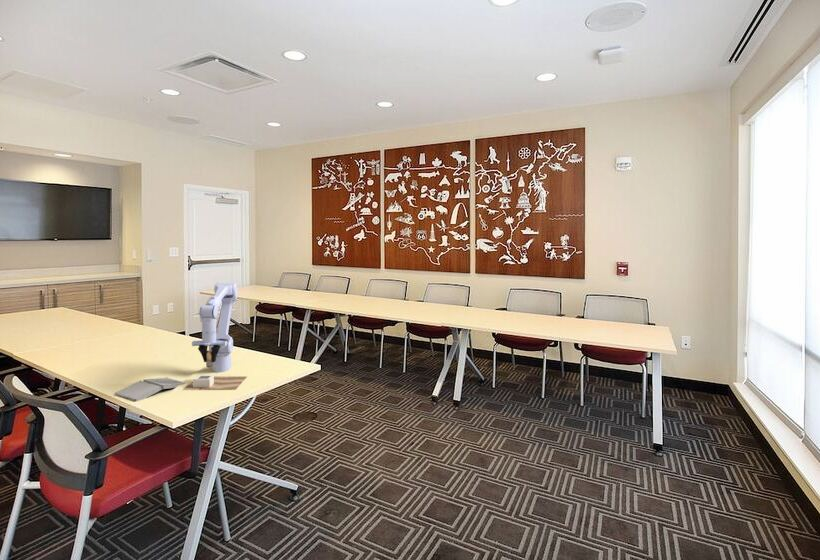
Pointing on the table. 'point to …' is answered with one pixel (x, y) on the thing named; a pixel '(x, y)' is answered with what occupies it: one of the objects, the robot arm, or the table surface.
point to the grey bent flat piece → (147, 388)
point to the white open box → (203, 381)
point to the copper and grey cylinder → (209, 359)
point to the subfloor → (221, 383)
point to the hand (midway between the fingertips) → (209, 361)
